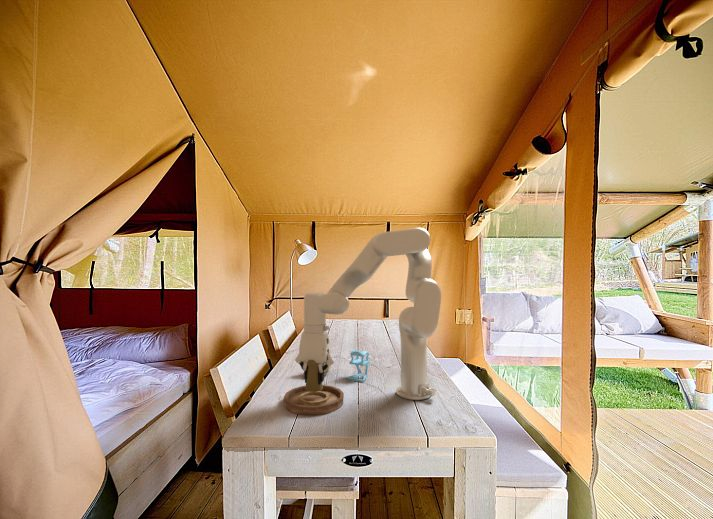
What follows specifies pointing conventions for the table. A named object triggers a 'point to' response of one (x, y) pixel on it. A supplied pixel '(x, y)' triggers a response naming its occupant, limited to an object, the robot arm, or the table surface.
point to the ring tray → (313, 400)
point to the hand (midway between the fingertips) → (314, 381)
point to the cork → (313, 377)
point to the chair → (359, 362)
